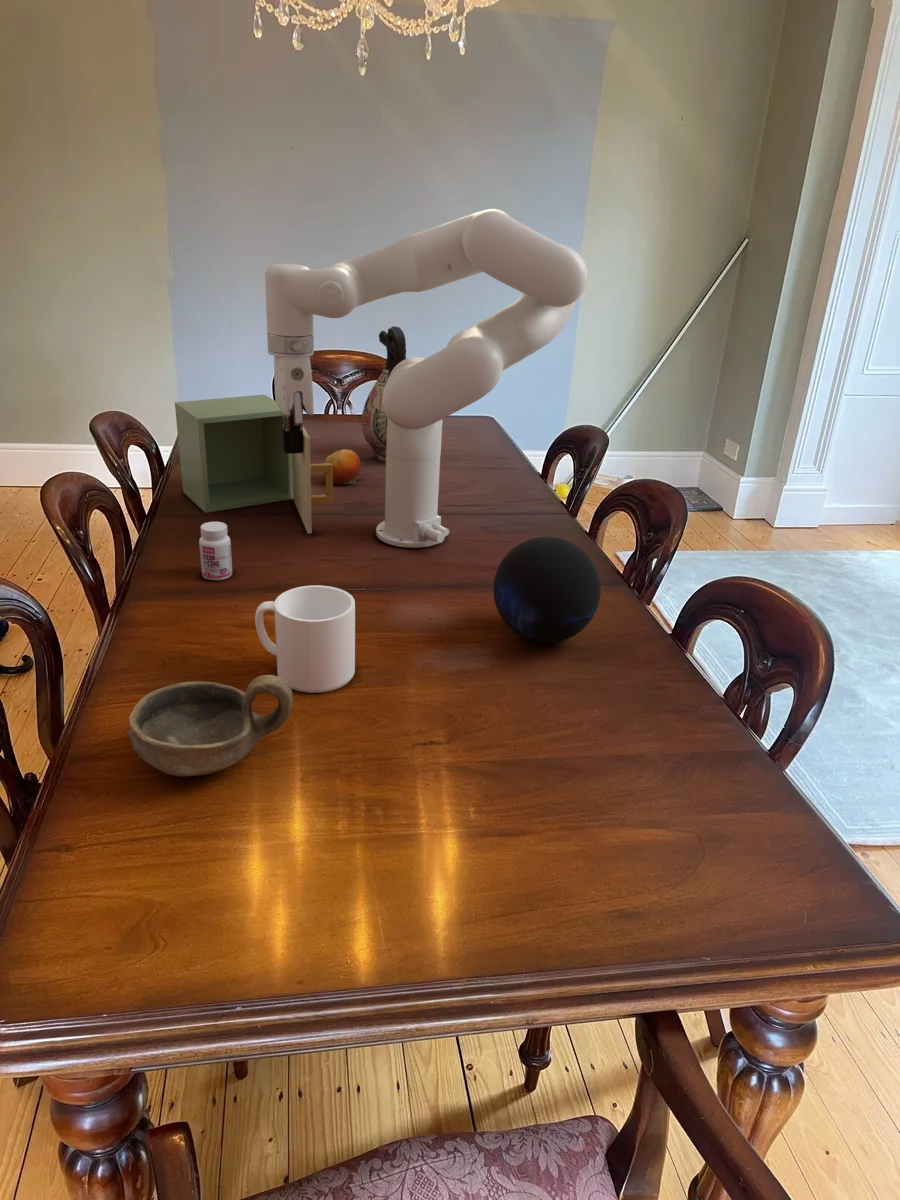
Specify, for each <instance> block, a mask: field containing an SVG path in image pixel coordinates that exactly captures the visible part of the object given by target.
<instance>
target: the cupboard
mask: <svg viewBox="0 0 900 1200" xmlns="http://www.w3.org/2000/svg"><path fill="white" fill-rule="evenodd" d="M174 409H175V410H174V411H175V421H176V428H177V429H176V430H177V431H176V432H177V441H178V450H179V451H178V453H179V462H180V473H181V482H182V484H181V485H182V493H183V494H184V495H186V496H187V497H188V498H189V499H190V500H191V501H192V502H193V503H194V504H195V505H196V506H197V507H199V509H201V511H202V512H204V513H205V514H207V513H214V512H219V511H220V512H221V511H225V510H226V511H227V510H232V509H238V508H239V509H240V508H244V507H250V506H257V505H264V504H270V503H276V502H277V503H278V502H283V501H289V500H293V475H292V454H286V453H285V451H284V450H283V429H286V428H283V417H282V411H281V410H280V409H279V407H278V406H277V404H276V399H275V400H274V399H273V398H271V397H269V396H267V395H266V394H254V395H253V394H252V395H243V396H232V397H221V398H220V397H219V398H210V399H195V400H186V401H176V402H174Z"/></svg>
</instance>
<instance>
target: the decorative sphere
mask: <svg viewBox="0 0 900 1200" xmlns="http://www.w3.org/2000/svg"><path fill="white" fill-rule="evenodd" d="M601 587H602V586H601V580H600V575H599V572H598V569H597V567H596V565H595V563H594V561H593V560H592V559H591V557H590V556H589V555H588V553H587V552H585V551H584V550H583V548H581V547H580V546H579V545H577V544H575V543H574V542H572V541H569V540H567V539H564V538H561V537H557V536H537V537H532V538H529V539H527V540H524V541H523V542H521V543H518V544H517V545H515V547H513V548H512V549H510V551H509V552H507V553H506V554H505V556H504V557H503V558H502V560H501V561H500V563H499V565H498V567H497V570H496V573H495V576H494V579H493V599H494V604H495V607H496V610H497V612H498V615H499V616H500V617H501V620H503V622H504V623H505V625H506V626H507V627H508V628H510V630H511V631H513V632H514V633H515V634H517V635H518V636H520V637H522V638H524V639H526V640H529V641H531V642H536V643H542V644H553V643H558V642H564V641H566V640H568V639H571V638H573V637H574V636H576V635H578V634H580V633H581V632H582V631H583V630H584V629H586V627H587V626H588V625H590V623H591V621H592V620H593V618H594V616H595V614H596V613H597V610H598V608H599V605H600V601H601V594H602V593H601V592H602V590H601V589H602V588H601Z"/></svg>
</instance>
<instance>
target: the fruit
mask: <svg viewBox="0 0 900 1200" xmlns="http://www.w3.org/2000/svg"><path fill="white" fill-rule="evenodd" d="M323 463H331V464H332V469H333V485H336V486H346V485H355V482H356V480H359V481H360V478H358V477H359V475H360V473H361V469H362V463H361V459H360V457H359V456H358V454H357V453H356V452H354V450H352V449H346V448H345V449H344V448H343V449H339V450H336V451H334V452H333V453H332V454H330V455H328V456H326V459H325V460H324V461H323ZM323 474H324V477H325V478H326V472H323Z"/></svg>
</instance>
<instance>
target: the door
mask: <svg viewBox="0 0 900 1200" xmlns="http://www.w3.org/2000/svg"><path fill="white" fill-rule="evenodd" d="M324 472H326V477H325V494H324V493H323V494H312V475H311V474H312V473H324ZM292 475H293V499H292V501H293V502H294V505H295V507H296V509H297V512H298V514H299V516H300V519H301V521H302V524H303V525H304V528H305V531H306V532H307V534H312V533H313V518H312V517H313V516H312V515H313V514H312V513H313V512H312V504H313V505H314V504H327V503H328V504H329V503H333V501H334V491H333V490H334V489H333V488H334V487H333V486H334V484H333V469H332V464H331V463H324V462H323V463H311V437H310V435H309V434H308V431H307V430H306V428H305V427H304V426H303V453H292Z"/></svg>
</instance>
